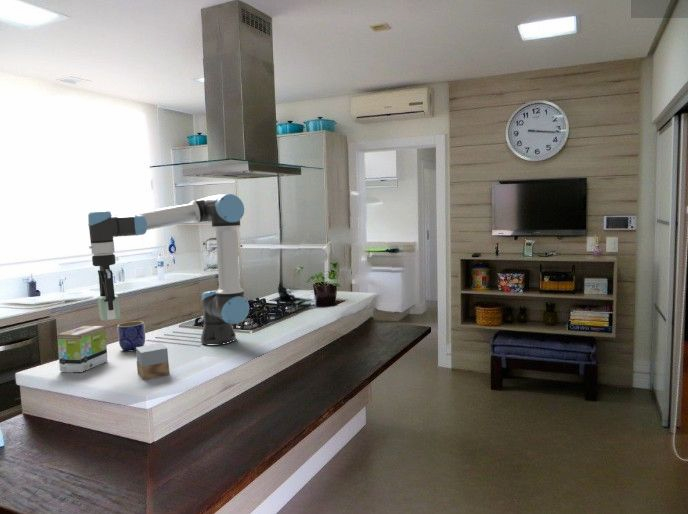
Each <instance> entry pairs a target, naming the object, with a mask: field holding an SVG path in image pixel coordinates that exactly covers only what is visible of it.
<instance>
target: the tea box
mask: <svg viewBox="0 0 688 514" xmlns="http://www.w3.org/2000/svg"><path fill="white" fill-rule="evenodd" d="M107 347H108V346H107V333H106V326H104V325H82V326H80V327H77V328H73V329H70V330H67V331H64V332H60V333H57V348H58V349H57V350H58V361H59V372H60V371H62V372H61V373H73V372H82V373H83V371H84V372H85V370H86V371H88V370H90V369H93V368H94V367H97V366H100V365H102V364H104V362H105V363H107V362H108V348H107ZM106 361H107V362H106Z"/></svg>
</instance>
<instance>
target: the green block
mask: <svg viewBox="0 0 688 514" xmlns="http://www.w3.org/2000/svg"><path fill="white" fill-rule="evenodd" d="M96 297H97V306H98V315H99V319H100V320H101V321H102V322H105V321H111V320H113V319H109V320H107V312H106V302H104V300H106V296H100V295H99V296H96ZM114 306H115V316H116V318H115V319H114V320H116V319H117V320H118V319H121V318H122V317H121V308H120V297H119V295H117V294H115V300H114Z"/></svg>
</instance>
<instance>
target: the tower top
mask: <svg viewBox="0 0 688 514" xmlns="http://www.w3.org/2000/svg"><path fill="white" fill-rule="evenodd" d="M135 353H136V363H137V362H138V363H139V364H140V365H141V366H142V367H143V366H149V365H154V364H159V363H164V362H169V353H168V347H166V346H165V345H164V343H162V342H160V343H154V344H149V345H144V346H142V347H136V350H135Z"/></svg>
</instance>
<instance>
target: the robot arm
mask: <svg viewBox="0 0 688 514" xmlns="http://www.w3.org/2000/svg"><path fill="white" fill-rule="evenodd" d="M244 214H245V205H244V203H243V201H242V199H241V198H240V197H238V196H237V195H235V194H232V193H221V194H213V195H208V196H206V197H203V198H199V199H195V200H190V202H189V203H187V204H181V205H174V206H168V207H167V206H166V207H161V208H156V209H151V210H145V211H139V212H133V213H127V214H121V215H112V213H111V211H109V210H107V211H106V210H105V211H103V210H101V211H91V212H89V213H88V217H87V219H88V229H89V230H88V231H89V240H90V246H88V249H91V250H90V251H91V254H92V256H91V259H92V260H91V263H92V266H93V267H99V269H98V270H97V273H98V274H97V275H98V283H99V297H100V296H106V300H104V302H106V312H107V320H106V321H110V320H109V319H112V320H116V319H115V318H116V316H115V306H114V300H115V295H116V293H115V288H114V287H115V285H114V278H113V277H114V273H113V270H112V269H111V268H110V266H114V265H116V255H115V251H116V250H115V241H114V238H117V237H133V236H143V235H145V234H146V233H147V231H149V230H154V229H159V228H164V227H165V228H166V227H170V226H175V225H180V224H185V223H191V222H193V223H195V224H198V223H211V227H212V229H214V230H215V237H216V254H217V255H216V256H217V257H216V258H217V275H218V289H215V290H210V291H209V290H208V291H204V292H203V293H202V294H201V303H202V305H201V306H202V316H203V327H202V332H201V336H200V342H201V343H202V345H203V344H223V343H227V342H230V341H233V340H235V339H236V340H237V336H236V333H235V330H234V327H233V326H232V325H233V324H234V325H236V324H240V323H241V322H243V321H244V320H246V318H247V317H248V315H249V312H250V304H249V302H248V300H247V299H246V298H245V292H244V289H243V288H242V287H241V284H240V264H239V247H238V246H239V245H238V244H239V243H238V229H239V228H240V227H241V219H242V218H243V217H244ZM236 340H235V341H236ZM201 343H200V344H201ZM223 345H224V344H223Z"/></svg>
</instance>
